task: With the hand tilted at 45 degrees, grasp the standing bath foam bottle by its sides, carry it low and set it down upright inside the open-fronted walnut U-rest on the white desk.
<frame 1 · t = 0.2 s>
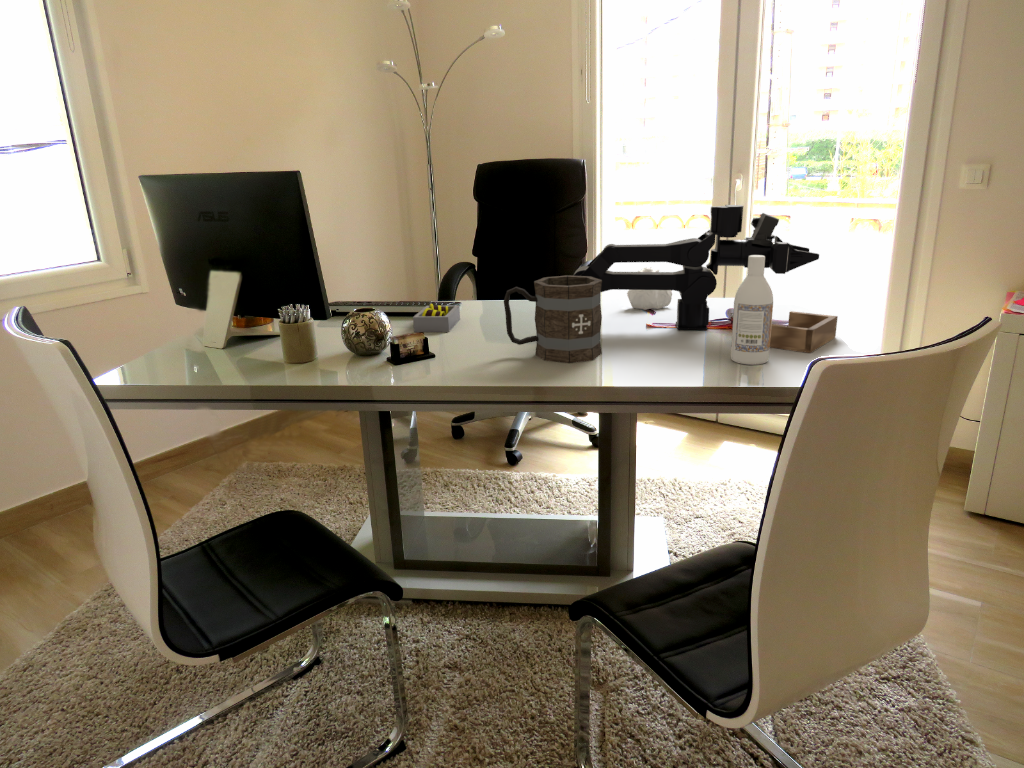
hand: (813, 253, 158), 17 cm above the table, tool horizontal, fingers open, 9 cm apart
valet tray: (437, 325, 177), on the table
u rest: (795, 341, 152), on the table
bath foam: (749, 361, 140), on the table
mug: (553, 355, 148), on the table
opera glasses: (437, 326, 177), resting in valet tray
white tied sack: (648, 308, 190), on the table
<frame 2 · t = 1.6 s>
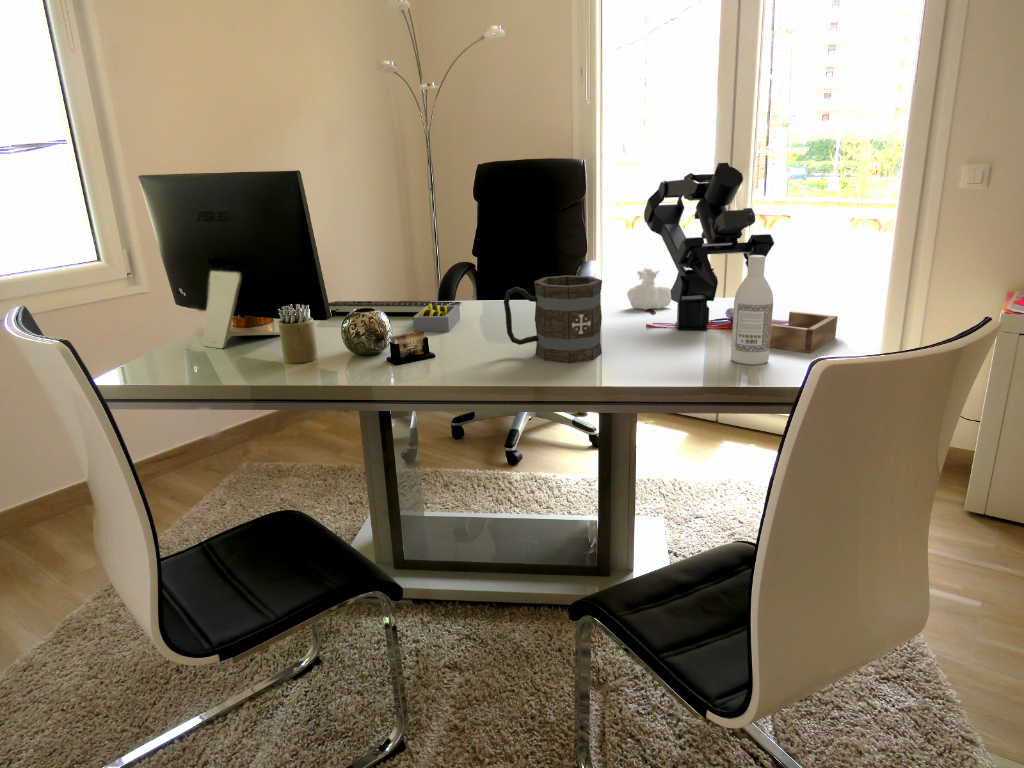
hand: (736, 283, 143), 14 cm above the table, tool tilted 45°, fingers open, 9 cm apart
nothing on the table moved.
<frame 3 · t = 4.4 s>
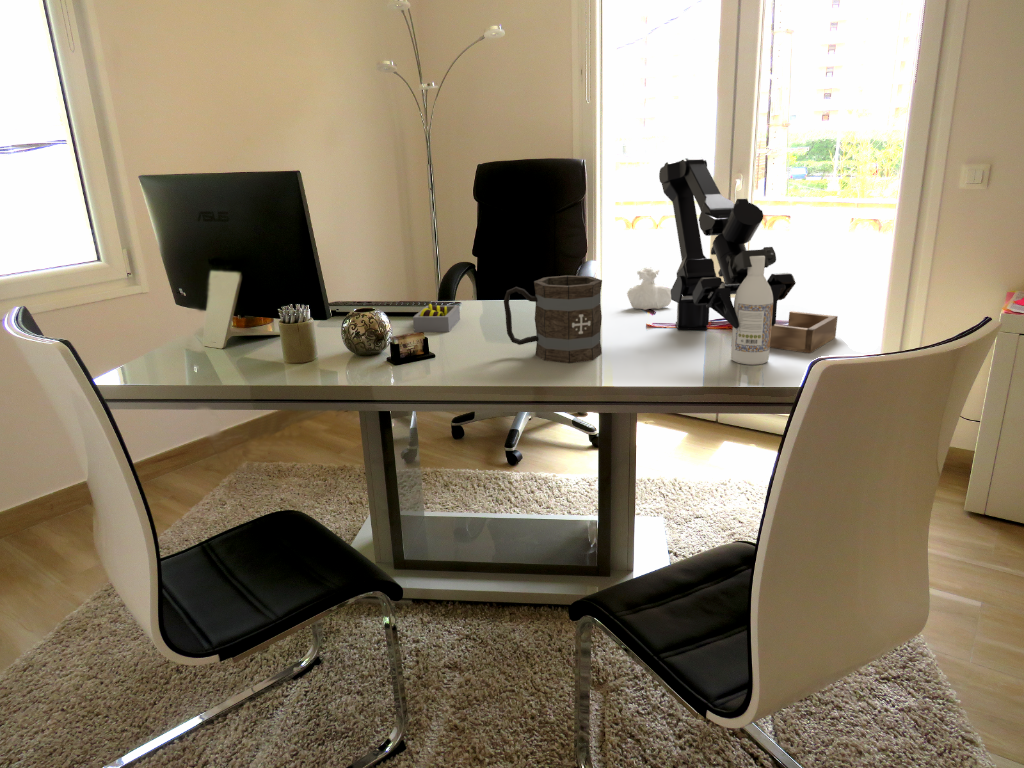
hand: (755, 325, 136), 7 cm above the table, tool tilted 45°, fingers closed on bath foam, 7 cm apart
bath foam: (749, 361, 140), on the table, touching gripper
everything else where it was.
when the fingers open (8 cm above the table, at t = 9.0 s): bath foam stays where it is, resting on u rest.
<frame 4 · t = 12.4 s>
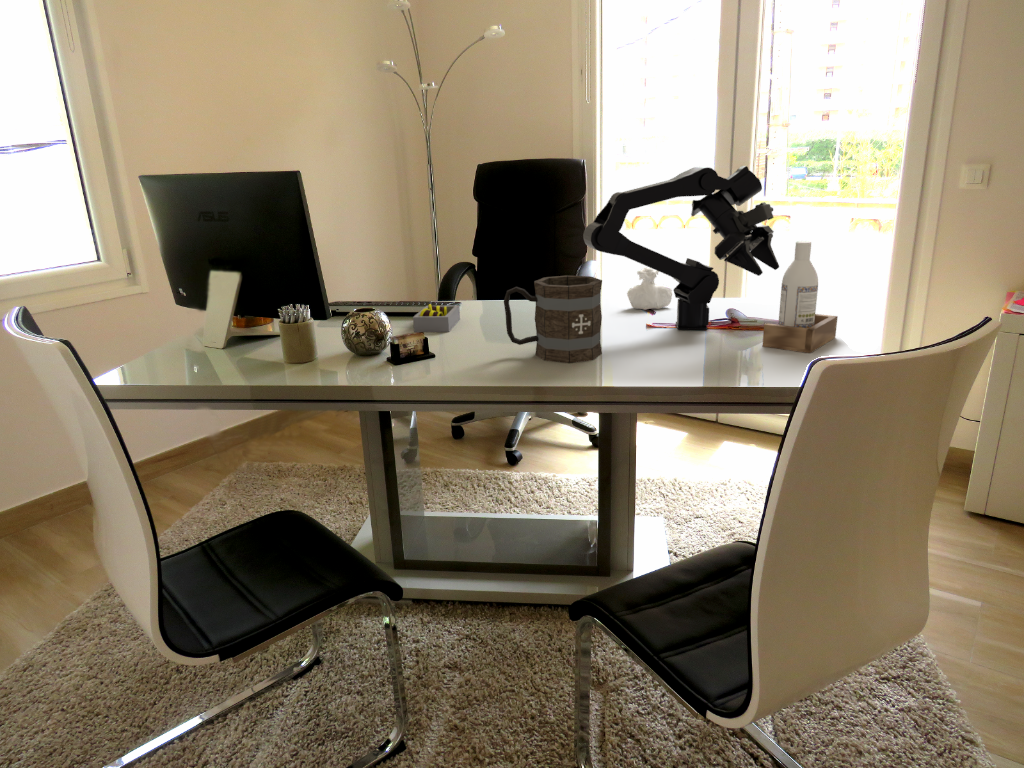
hand: (769, 271, 156), 14 cm above the table, tool tilted 45°, fingers open, 9 cm apart
bath foam: (794, 339, 152), resting on u rest
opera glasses: (435, 327, 176), resting in valet tray
everything else where it was.
at the end: bath foam inside the target area on the u rest (0.7 cm from its centre), point 0.4 cm above the u rest's base; bath foam tilted 0°; the gripper is holding nothing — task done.
